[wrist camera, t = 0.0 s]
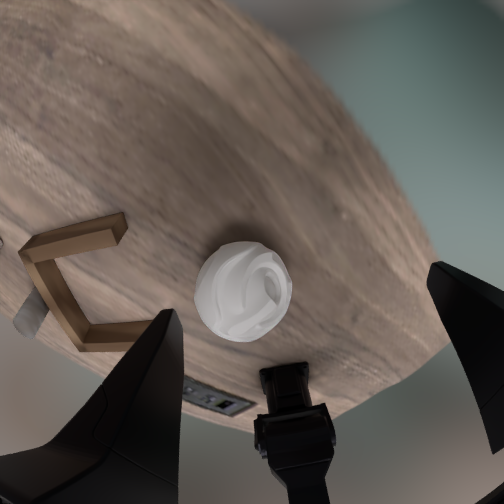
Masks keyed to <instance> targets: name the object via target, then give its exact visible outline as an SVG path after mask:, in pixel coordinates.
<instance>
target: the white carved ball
mask: <svg viewBox="0 0 504 504" xmlns="http://www.w3.org/2000/svg"><path fill="white" fill-rule="evenodd" d="M291 294H292V281H291V278H290V276H289V274H288V271H287V269H286V267H285V265H284V263H283V261H282V259H281V258H280V257H279V256H278V254H277V253H275V252H274V251H273V250H271V249H268V248H266V247H265V246H264V245H263V244H261V243H258V242H251V241H241V242H233V243H229V244H225V245H222V246H221V247H220V248H219V250H217V251H216V252H214V253H213V254H212V255H211V256H210V257H209V258H208V259H207V260H206V261H205V263H204V264H203V266H202V268H201V269H200V271H199V274H198V276H197V280H196V287H195V296H194V301H195V305H196V308H197V310H198V313H199V315H200V317H201V319H202V321H203V322H204V323H205V325H206V326H207V327H208V328H209V329H210V330H211V331H212V332H214V333H215V334H217V335H218V336H220V337H222V338H225V339H227V340H231V341H236V342H250V341H254V340H256V339H258V338H260V337H262V336H263V335H265V334H266V333H268V332H269V331H270V330H271V329H272V328H273V327H275V326H276V325H277V324H278V322H279V321H280V320H281V319H282V318H283V316H284V315H285V313H286V312H287V309H288V306H289V303H290V299H291Z"/></svg>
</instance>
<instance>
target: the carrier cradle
mask: <svg viewBox="0 0 504 504" xmlns="http://www.w3.org/2000/svg"><path fill="white" fill-rule="evenodd" d="M127 229H128V226H127V223H126V220H125V217H124V214H123V212H122V213H118V214H114V215H110V216H106V217H101V218H97V219H93V220H90V221H86V222H82V223H78V224H74V225H71V226H67V227H63V228H60V229H56V230H53V231H49V232H46V233H42V234H39V235H36V236H33V237H32V238H31V239H30V240H29V241H28V242H27V243H26V244H25V245H24V246H23V247H22V248H21V249H20V250H19V251H18V254H19V256H20V258H21V260H22V262H23V264H24V266H25V267H26V269H27V271H28V273H29V275H30V277H31V279H32V280H33V282H34V284H35V287H34V289H33V290H32V291H31V293H30V294H29V296H28V297H27V299H26V300H25V302H24V303H23V305H22V306H21V308H20V310H19V311H18V313H17V314H16V316H15V318H14V319H13V324H14V326H15V328H16V329H17V330H18V332H19V333H21V334H22V335H23V336H25V337H27V338H30V339H33V338H34V337H35V335H36V333H37V331H38V329H39V328H40V326H41V324H42V322H43V320H44V318H45V317H46V315H47V313H48V311H49V310H50V311H51V312H52V314H53V315H54V317H55V318H56V320H57V321H58V323H59V324H60V326H61V327H62V329H63V330H64V331H65V333H66V334H67V336H68V337H69V338H70V340H71V341H72V342H73V344H74V345H75V346H76V348H77V349H78V350H79V352H122V351H128V350H129V349H130V347H131V346H132V345H133V344H134V343H135V341H136V340H137V339H138V338H139V336H140V335H141V334H142V333H143V332H144V330H145V329H146V328H147V327H148V326H149V324H150V323H151V322H152V321H153V320H149V321H138V322H126V323H113V324H99V325H90V323H89V322H88V320H87V319H86V317H85V315H84V314H83V312H82V311H81V309H80V307H79V306H78V304H77V302H76V301H75V299H74V297H73V295H72V294H71V292H70V290H69V288H68V286H67V285H66V283H65V281H64V279H63V277H62V275H61V273H60V271H59V269H58V267H57V265H56V263H55V261H54V258H59V257H63V256H68V255H73V254H78V253H82V252H87V251H92V250H97V249H102V248H107V247H112V246H117V245H118V243H119V242H120V240H121V239H122V237H123V235H124V234H125V232H126V230H127Z"/></svg>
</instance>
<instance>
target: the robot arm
mask: <svg viewBox="0 0 504 504" xmlns="http://www.w3.org/2000/svg"><path fill="white" fill-rule="evenodd" d="M427 288H428V290H429V292H430V295H431V297H432V299H433V302H434V304H435V306H436V309H437V311H438V314H439V316H440V319H441V321H442V323H443V325H444V327H445V329H446V331H447V333H448V335H449V337H450V339H451V341H452V343H453V346H454V348H455V350H456V352H457V355H458V357H459V359H460V361H461V364H462V366H463V368H464V371H465V373H466V375H467V378H468V381H469V383H470V386H471V388H472V391H473V393H474V396H475V399H476V402H477V404H478V407H479V409H480V414H481V416H482V420H483V423H484V426H485V430H486V433H487V436H488V440H489V444H490V448H491V451H492V454H495V453H496V452H498V451H500V450H501V449H503V448H504V291H502V290H500V289H498V288H497V287H495V286H493V285H491V284H488V283H487V282H485V281H483V280H480V279H479V278H477V277H474V276H472V275H470V274H468V273H466V272H464V271H461V270H460V269H458V268H456V267H453V266H451V265H449V264H447V263H445V262H442V261H438V262H434V263H432V264H431V266H430V270H429V274H428V277H427ZM308 373H309V365H308V363H306V362H305V363H300V364H294V365H289V366H283V367H277V368H270V369H264V370H260V371H259V374H260V379H261V383H262V388H263V392H264V394H265V395H266V398H267V405H268V413H269V414H257V417H258V418H257V419H255V420H254V431H255V441H254V444H255V449H256V450H258V451H259V452H260V454H261V455H262V459H268V464H269V467H270V470H271V473H272V475H273V476H274V477H275V478H276V479H277V480H278V481H279V482H280V483H281V484H282V485H283V486H284V487H285V488H286V489H287V492H288V498H289V504H330V501H329V496H328V492H327V487H326V482H325V476H326V473H327V471H328V468H329V466H330V463H331V461H332V458H333V455H334V448H333V447H334V446H336V435H335V430H334V426H333V423H332V420H331V418H330V415H329V412H328V409H327V407H326V404H325V403H321V404H319V405H315V406H312V401H311V397H310V393H309V389H308ZM183 381H184V351H183V328H182V325H181V322H180V320H179V318H178V315H177V313H176V311H175V310H174V309H172V308H171V309H163V310H161V311H160V312H159V314H158V315H157V316H156V317H155V318H154V320H153V321H152V322H151V323H150V324H149V326H148V327H147V328H146V329H145V330H144V332H143V333H142V334H141V335H140V336H139V338H138V339H137V340H136V341H135V343H134V344H133V345H132V346H131V347H130V349H129V350H128V351H127V352H126V354H125V355H124V356H123V357H122V359H121V360H120V361H119V362H118V364H117V365H116V366H115V367H114V368H113V370H112V371H111V372H110V374H109V375H108V376H107V377H106V379H105V380H104V381H103V383H102V385H100V386H99V387H98V389H97V390H96V391H95V393H94V394H93V395H92V396H91V397H90V399H89V400H88V401H87V402H86V403H85V405H84V406H83V407H82V408H81V409H80V410H79V411H78V412H77V413H76V415H75V416H74V417H73V418H72V419H71V420H70V421H69V422H68V423H67V424H66V425H65V426H64V427H63V428H62V430H61V431H60V432H59V433H58V434H57V435H56V436H55V437H54V438H53V439H52V440H51V441H50V442H48V443H47V444H45V445H43V446H40V447H38V448H34V449H30V450H26V451H22V452H18V453H13V454H8V455H3V456H0V504H178V471H179V443H180V442H179V441H180V422H181V408H182V394H183ZM475 504H504V482H503V483H502V484H501V485H499V486H498V487H497V488H496V489H494V490H493V491H492V492H491V493H489V494H488V495H486V496H485V497H484V498H482V499H481V500H479V501H478V502H477V503H475Z"/></svg>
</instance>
